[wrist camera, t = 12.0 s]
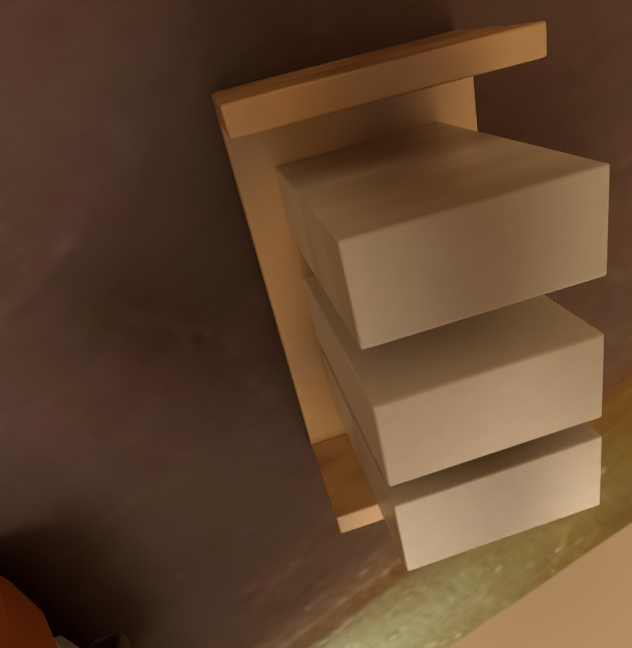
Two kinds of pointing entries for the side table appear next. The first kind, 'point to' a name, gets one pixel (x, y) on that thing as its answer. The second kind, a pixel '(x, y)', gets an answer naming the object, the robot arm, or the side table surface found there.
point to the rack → (415, 260)
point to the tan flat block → (464, 382)
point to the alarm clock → (24, 622)
